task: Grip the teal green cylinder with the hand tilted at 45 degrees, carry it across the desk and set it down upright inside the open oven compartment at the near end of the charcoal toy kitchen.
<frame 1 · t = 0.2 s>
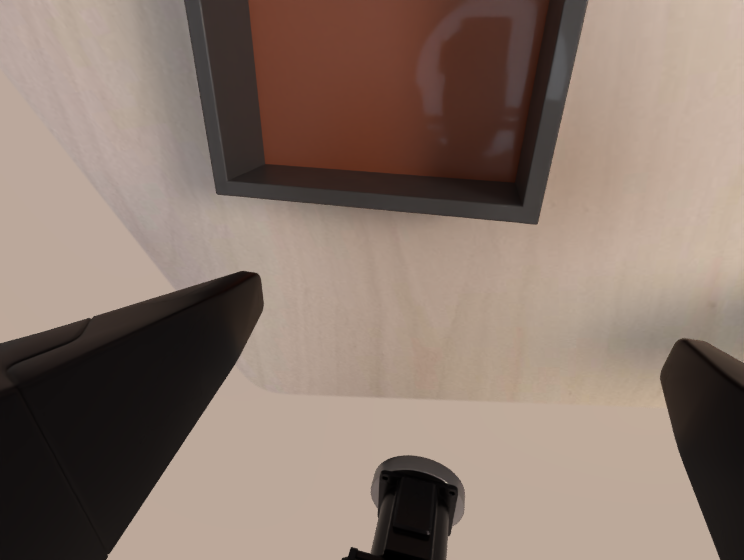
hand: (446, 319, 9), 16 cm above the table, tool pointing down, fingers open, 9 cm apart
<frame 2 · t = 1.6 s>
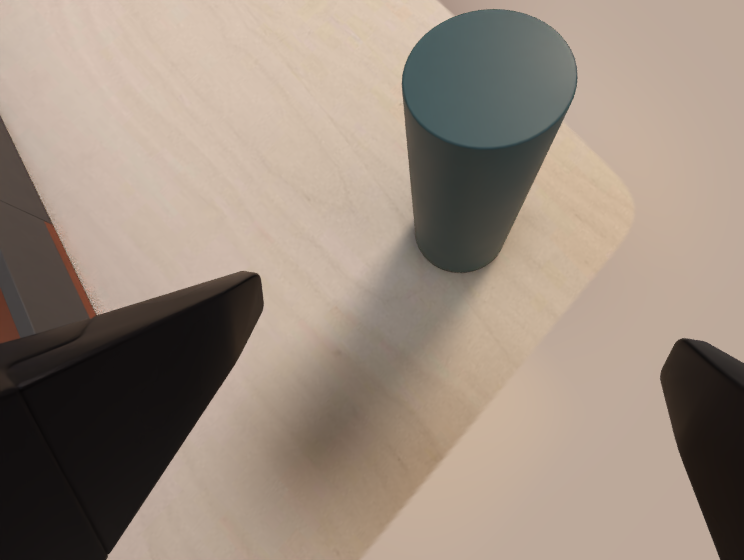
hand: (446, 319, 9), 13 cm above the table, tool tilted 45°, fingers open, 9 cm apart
teal green cylinder: (459, 230, 24), on the table
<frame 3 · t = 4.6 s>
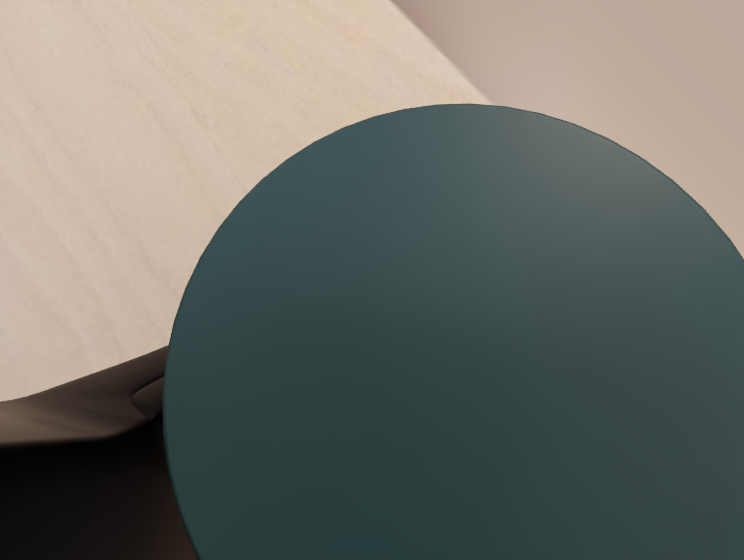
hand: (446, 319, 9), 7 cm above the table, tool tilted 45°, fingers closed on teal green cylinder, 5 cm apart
teal green cylinder: (433, 389, 15), on the table, touching gripper
when the fingers open (7 cm above the table, at t = 12.7 s): teal green cylinder stays where it is, resting on toy kitchen.
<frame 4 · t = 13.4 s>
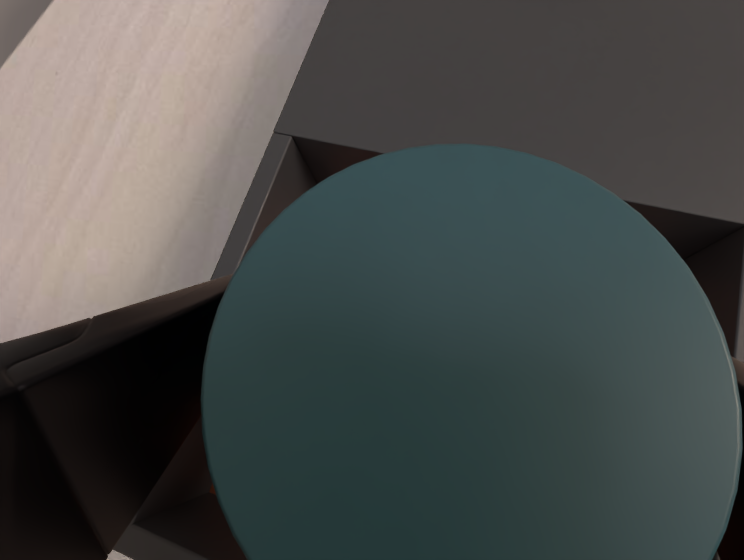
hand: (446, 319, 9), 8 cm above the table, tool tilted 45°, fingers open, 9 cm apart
teal green cylinder: (434, 391, 15), point 1 cm above the table, touching toy kitchen
toy kitchen: (528, 39, 20), on the table
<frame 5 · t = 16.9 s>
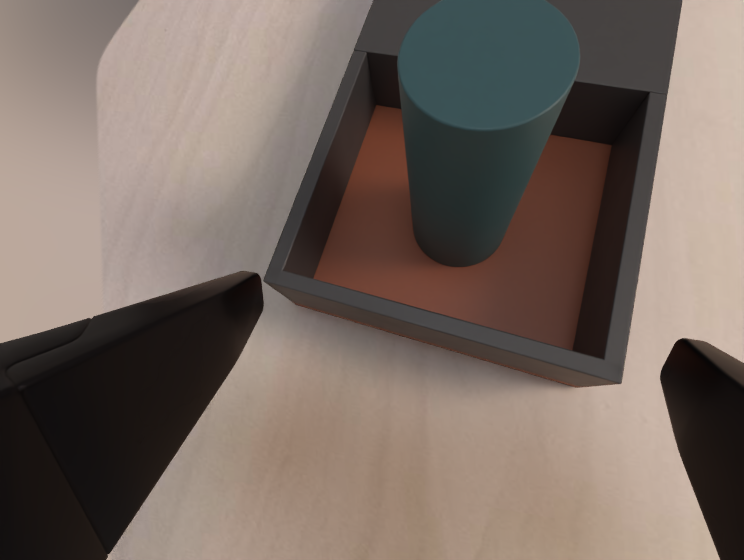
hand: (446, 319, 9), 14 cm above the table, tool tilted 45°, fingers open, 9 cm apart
teal green cylinder: (458, 224, 23), point 1 cm above the table, touching toy kitchen
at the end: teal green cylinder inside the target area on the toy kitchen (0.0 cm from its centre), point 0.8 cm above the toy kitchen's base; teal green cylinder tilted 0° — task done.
